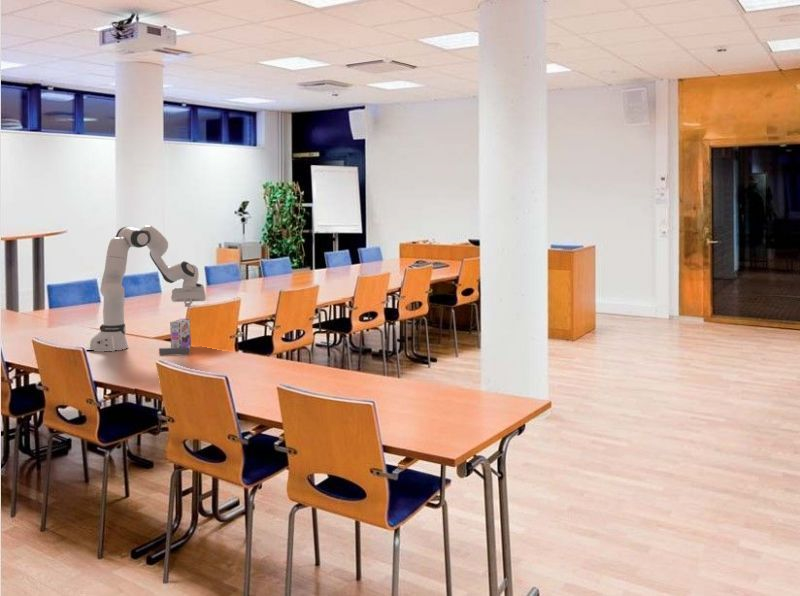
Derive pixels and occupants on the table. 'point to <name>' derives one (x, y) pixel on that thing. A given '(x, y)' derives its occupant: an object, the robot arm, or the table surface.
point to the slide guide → (175, 350)
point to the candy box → (180, 333)
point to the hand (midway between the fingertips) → (187, 306)
